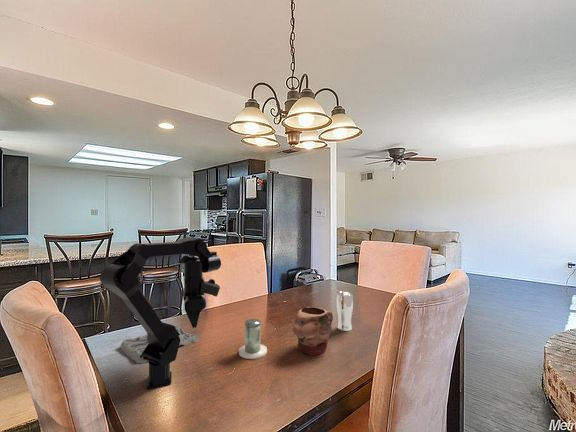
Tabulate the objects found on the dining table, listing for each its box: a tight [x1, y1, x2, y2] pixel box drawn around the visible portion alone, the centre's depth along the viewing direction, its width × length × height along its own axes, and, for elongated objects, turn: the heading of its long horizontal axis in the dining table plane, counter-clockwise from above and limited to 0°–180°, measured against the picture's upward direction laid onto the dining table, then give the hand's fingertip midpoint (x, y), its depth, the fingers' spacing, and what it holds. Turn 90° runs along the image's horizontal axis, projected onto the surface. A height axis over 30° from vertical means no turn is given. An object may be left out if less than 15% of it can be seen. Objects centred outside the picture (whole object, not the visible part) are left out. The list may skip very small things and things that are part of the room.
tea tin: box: [244, 318, 262, 354], centre depth 101 cm, size 6×6×10 cm
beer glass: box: [336, 290, 354, 332], centre depth 123 cm, size 7×7×15 cm
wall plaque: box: [120, 325, 200, 365], centre depth 108 cm, size 24×19×4 cm
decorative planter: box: [292, 306, 334, 356], centre depth 105 cm, size 20×12×14 cm, turn 138°
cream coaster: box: [238, 343, 268, 360], centre depth 102 cm, size 10×10×1 cm
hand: (193, 322), depth 95 cm, fingers open, 9 cm apart
